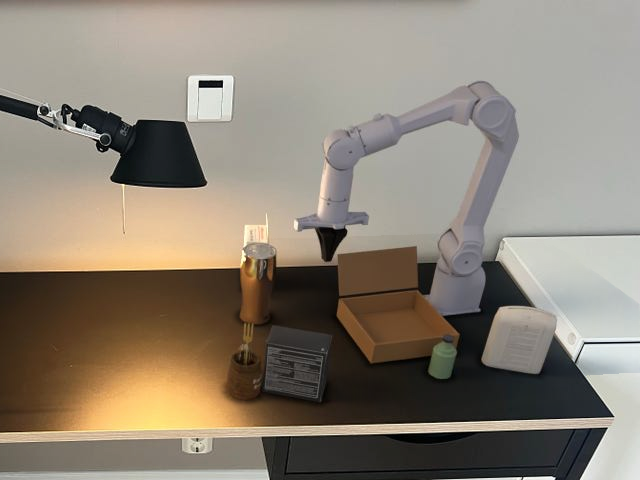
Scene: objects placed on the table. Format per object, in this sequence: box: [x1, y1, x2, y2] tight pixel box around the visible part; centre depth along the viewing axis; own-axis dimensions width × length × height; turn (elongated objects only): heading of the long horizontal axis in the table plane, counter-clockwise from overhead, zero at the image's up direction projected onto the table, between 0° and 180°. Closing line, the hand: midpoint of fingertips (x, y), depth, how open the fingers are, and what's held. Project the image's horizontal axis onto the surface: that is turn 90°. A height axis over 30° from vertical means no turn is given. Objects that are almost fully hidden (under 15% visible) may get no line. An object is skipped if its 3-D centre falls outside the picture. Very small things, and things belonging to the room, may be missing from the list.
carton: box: [336, 289, 460, 364], centre depth 146 cm, size 17×17×4 cm
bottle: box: [427, 334, 458, 380], centre depth 134 cm, size 4×4×8 cm
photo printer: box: [481, 305, 558, 375], centre depth 135 cm, size 10×4×12 cm, turn 72°
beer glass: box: [239, 243, 278, 326], centre depth 148 cm, size 7×7×15 cm
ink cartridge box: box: [243, 212, 270, 248], centre depth 160 cm, size 9×5×15 cm, turn 177°
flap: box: [337, 245, 419, 297], centre depth 150 cm, size 8×17×1 cm
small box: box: [261, 325, 333, 403], centre depth 131 cm, size 11×6×10 cm, turn 71°
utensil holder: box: [226, 322, 263, 401], centre depth 130 cm, size 6×6×12 cm
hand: (326, 259), depth 151 cm, fingers closed
